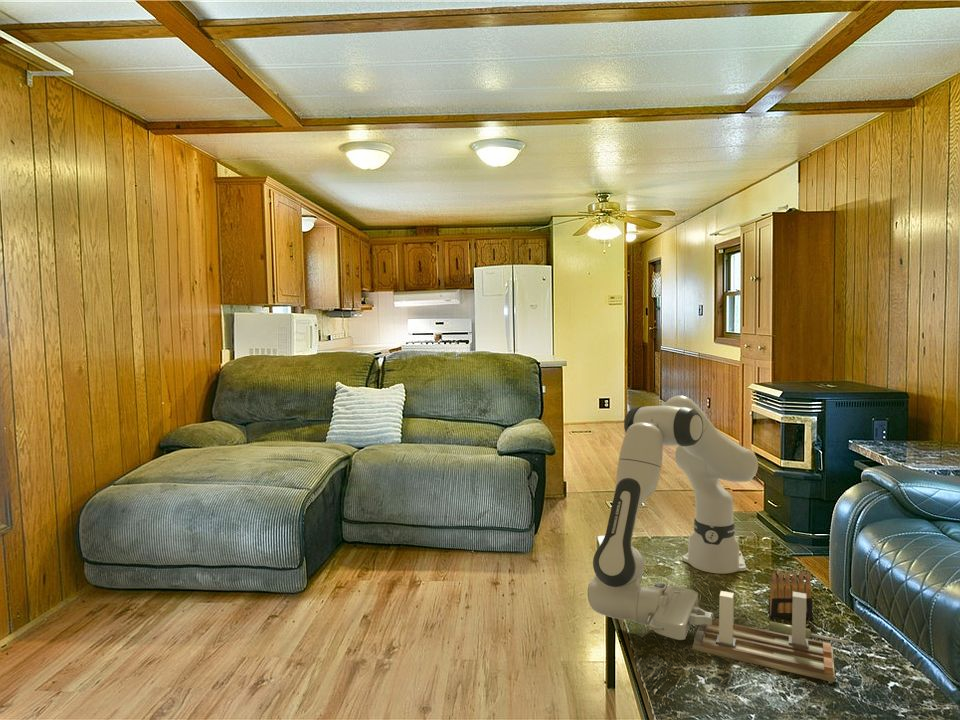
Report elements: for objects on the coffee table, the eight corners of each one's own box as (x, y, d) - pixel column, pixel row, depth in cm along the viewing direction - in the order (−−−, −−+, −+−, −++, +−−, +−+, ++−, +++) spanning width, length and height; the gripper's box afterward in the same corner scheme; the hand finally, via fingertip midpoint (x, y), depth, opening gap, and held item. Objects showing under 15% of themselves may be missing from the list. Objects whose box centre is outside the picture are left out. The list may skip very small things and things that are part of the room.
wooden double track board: (700, 625, 156) (700, 615, 156) (832, 652, 143) (832, 642, 143) (692, 649, 145) (692, 639, 145) (834, 682, 132) (835, 671, 131)
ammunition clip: (771, 617, 160) (772, 572, 159) (767, 614, 162) (768, 569, 161) (812, 617, 160) (813, 572, 159) (809, 614, 162) (810, 569, 161)
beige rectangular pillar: (717, 638, 147) (718, 589, 146) (735, 642, 145) (736, 592, 144) (715, 645, 144) (716, 595, 143) (734, 649, 142) (735, 599, 141)
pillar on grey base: (788, 639, 146) (790, 590, 145) (808, 643, 144) (809, 593, 143) (788, 646, 143) (789, 596, 142) (808, 650, 141) (809, 599, 140)
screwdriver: (768, 634, 152) (769, 624, 152) (769, 629, 154) (769, 619, 154) (849, 650, 144) (849, 640, 144) (848, 645, 147) (848, 634, 146)
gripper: (643, 612, 142) (706, 626, 136) (661, 579, 160) (718, 589, 154) (643, 639, 143) (706, 653, 136) (661, 602, 161) (717, 613, 154)
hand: (712, 619), depth 145 cm, fingers closed
